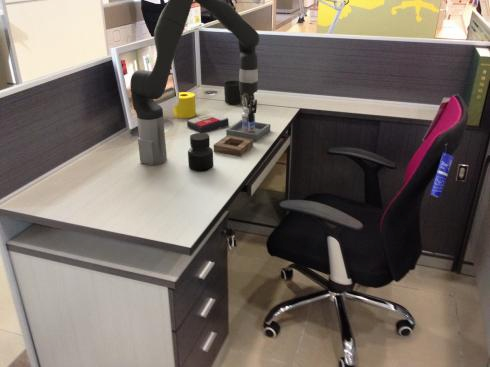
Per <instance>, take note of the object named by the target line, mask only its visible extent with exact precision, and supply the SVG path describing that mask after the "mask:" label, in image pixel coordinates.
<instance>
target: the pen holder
mask: <svg viewBox="0 0 490 367" xmlns="http://www.w3.org/2000/svg"><path fill="white" fill-rule="evenodd" d="M223 89H224V90H223V91H224V92H223V93H224V102H225V104H226V105H231V106H232V105H233V106H234V105H241V94H240V90H239V80H226V81H224V83H223Z"/></svg>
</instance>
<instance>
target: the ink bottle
mask: <svg viewBox="0 0 490 367" xmlns="http://www.w3.org/2000/svg"><path fill="white" fill-rule="evenodd" d="M210 142H211V141H210V134H207V132H206V133H199V132H196V133H191V135H189V143H190V148H188V150H187V158H188V160H187V161H188V168H189V170H191V171H193V172H197V173H198V172H199V173H202V172H203V173H204V172H207V171H210V170H212V169H213V168H214V149H212V147H211V146H210V145H211V144H210Z"/></svg>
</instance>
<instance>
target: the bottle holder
mask: <svg viewBox="0 0 490 367" xmlns="http://www.w3.org/2000/svg"><path fill="white" fill-rule="evenodd" d="M253 147H254V141H253V139H247V138H241V137H236V136H230V135H227V136H226V135H225V136H224V137H223V138H221V139H220V140H218V141H217V142H215V143H214V144H213V153H217V154H222V155H227V156H233V157H238V158H242V156H244V155H245V154H246V153H247V152H249V151H250V150H251V149H252V148H253ZM249 149H250V150H249Z"/></svg>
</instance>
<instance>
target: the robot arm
mask: <svg viewBox="0 0 490 367" xmlns="http://www.w3.org/2000/svg"><path fill="white" fill-rule="evenodd" d="M194 2H196V4H198V5H200V7H202V8H203V9H205V10H206V11H207V12H208V13H209V14H211V15H212V16H213V17H214V18H215V19H216V20H217V21H218V22H219V23H220V24H221V25H222V26H223V27H224V28H225V29H226V30H228V31H229V32H230V33H231V34H233V35H234V37H235V38H236V39H237V40H238V41H237V43H238V50H239V72H238V76H239V77H238V79H239V80H238V81H239V90H240V94H241V103H240V105H241V107H242V110H243V109H244V107H246V108H248V122H253V121H254V113H255V114H256V113H257V106H258V100H257V99H256V98H255V95H254V94H255V93H256V92H258V89H259V72H258V55H257V52H256V46H258V45H259V43H260V35H259V33H258V32H257V30H256V29H254V27H252V26H251V25H250V24H249V23H248V22H247V21H245V19H244V18H243V17H242V16H241V15H240V14H239V13H238V11H237V10H235V9H234V7H233V6H231V5H230V4H229V3H228V2H227V1H225V0H168V1H167V3H166V5H165V6H164V7H163V9H162V11H161V13H160V15H159V17H158V20H157V22H156V25H155V29H154V32H153V39H154V45H155V51H156V59H155V63H154V66H153V68H152V70H145V69H138V70H135V71H134V72H133V73H132V75H131V78H130V93H131V98H132V99H131V100H132V106H133V109H134V111H135V113H136V118H137V128H138V139H137V145H138V153H139V160H140V164H144V165H149V166H156V165H162V164H163V163H165V162H167V160H168V159H167V145H166V133H165V121H164V110H163V107H162V106H161V105H159V104H158V103H157V102H156V101H155V100H158V99H160V98H161V97H162V96H163V95H164V94H165V90H166V88H167V85H168V81H169V76H170V73H171V68H172V65H173V61H174V58H175V54H176V52H177V49H178V46H179V43H180V41H181V39H182V36H183V33H184V31H185V27H186V24H187V20H188V17H189V15H190V12H191V9H192V8H191V7H192V6H193V3H194ZM243 112H244V111H243ZM243 112H242V113H243Z"/></svg>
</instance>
